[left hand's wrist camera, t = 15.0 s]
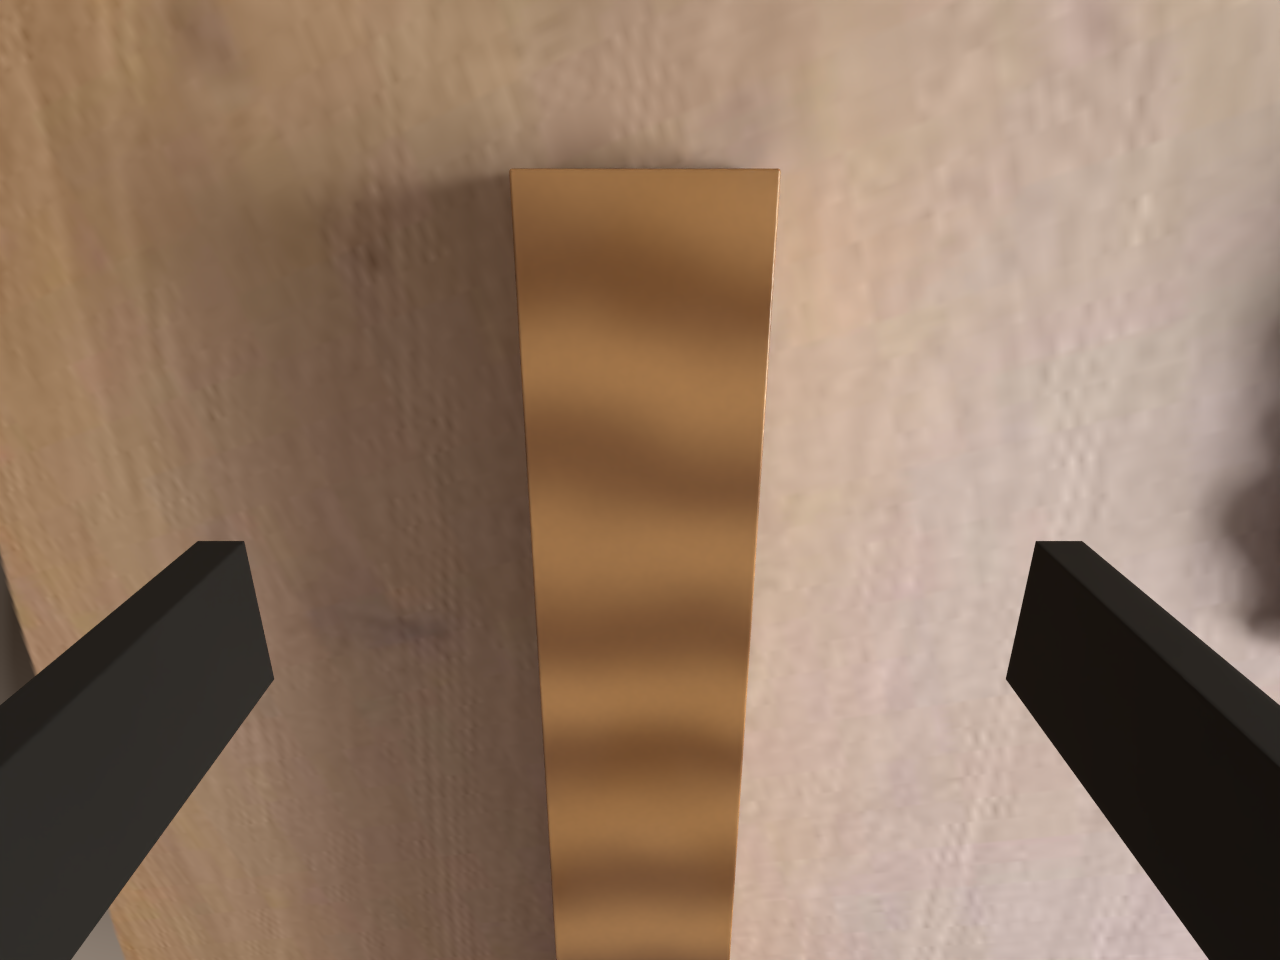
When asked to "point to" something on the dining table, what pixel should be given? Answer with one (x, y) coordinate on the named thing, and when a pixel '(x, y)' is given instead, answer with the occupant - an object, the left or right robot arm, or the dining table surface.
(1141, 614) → the left robot arm
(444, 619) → the dining table surface
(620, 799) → the long beam
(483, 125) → the dining table surface
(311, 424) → the dining table surface
